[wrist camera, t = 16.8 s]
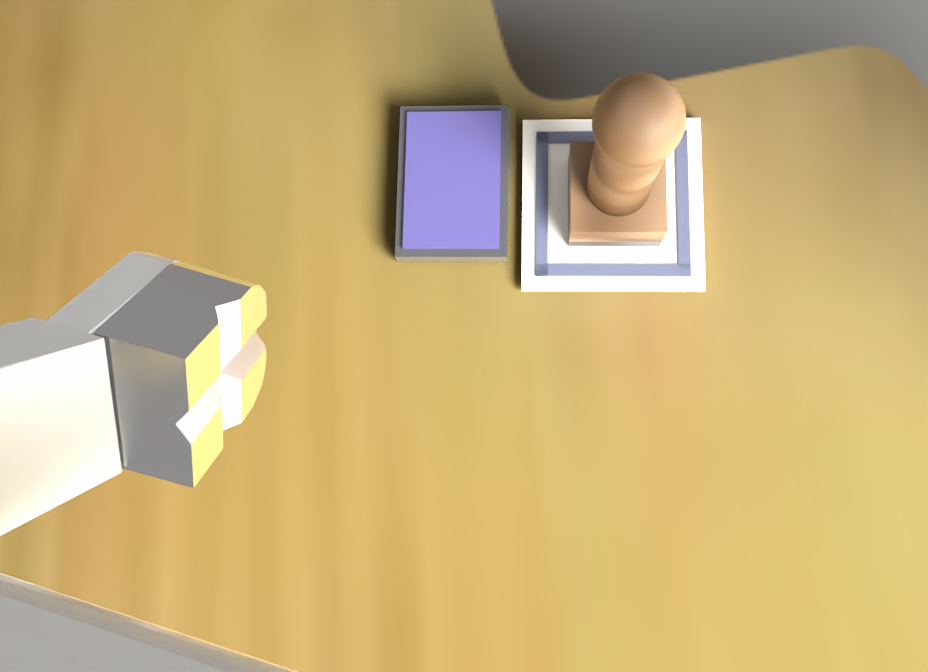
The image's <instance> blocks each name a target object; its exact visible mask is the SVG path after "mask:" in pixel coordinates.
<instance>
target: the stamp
mask: <svg viewBox="0 0 928 672" xmlns="http://www.w3.org/2000/svg"><path fill="white" fill-rule="evenodd" d="M685 126H686V109H685V105H684V102H683V100H682V97H681V96H680V94H679V92H678V91H677V90H676V88H675V87H674V86H673V85H672V84H671V83H669V82H668V81H667V80H665V79H664V78H662V77H659V76H657V75H654V74H649V73H634V74H629V75H626V76H623V77H621V78H619V79H617V80H615V81H614V82H612V83H611V84H610V85H609V86H608V87H607V88H606V89H605V90H604V91H603V92H602V94H601V95H600V96H599V98H598V100H597V102H596V104H595V107H594V110H593V115H592V131H593V136H594V139H595V142H570V149H569V157H568V246H660V244H661V243H662V241H663V239H664V237H665V235H666V234H667V188H666V158H667V157H668V156H669V155H670V154H671V153H672V152H673V151H674V150H675V149H676V147H677V146H678V144H679V143H680V141H681V139H682V137H683V134H684V131H685Z"/></svg>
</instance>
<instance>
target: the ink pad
mask: <svg viewBox="0 0 928 672" xmlns="http://www.w3.org/2000/svg"><path fill="white" fill-rule="evenodd" d="M509 120H510V112H509V105H470V106H400V128H399V155H398V182H397V210H396V237H395V258H396V260H397V262H508V203H509Z"/></svg>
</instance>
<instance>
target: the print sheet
mask: <svg viewBox="0 0 928 672" xmlns="http://www.w3.org/2000/svg"><path fill="white" fill-rule="evenodd" d="M570 142H595V139H594V136H593V131H592V119H561V120H523V167H522V278H521V291H589V292H705V291H706V282H705V249H704V216H703V183H702V151H701V118H686V126H685V131H684V134H683V137H682V139H681V141H680V143H679V144H678V146H677V147H676V149H675V150H674V151H673V152H672V153H671V154H670V155H669V156H668V157H667V158H666V188H667V234H666V235H665V237H664V239H663V241H662V243H661V244H660V246H568V157H569V149H570Z"/></svg>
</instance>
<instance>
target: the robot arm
mask: <svg viewBox="0 0 928 672" xmlns="http://www.w3.org/2000/svg"><path fill="white" fill-rule="evenodd" d="M266 317H267V308H266V292H265V291H264V290H263V288H262V287H261V286H260V285H258V284H255V283H252V282H248V281H245V280H242V279H238V278H235V277H232V276H228V275H225V274H222V273H218V272H215V271H212V270H208V269H205V268H201V267H198V266H195V265H191V264H188V263H185V262H178V261H177V260H174V259H170V258H167V257H163V256H160V255H156V254H152V253H149V252H145V251H136V252H130V253H129V254H128V255H126V256H125V257H124V258H123V259H121V260H120V261H119V262H118V263H117V264H115V265H114V266H113V267H112V268H110V269H109V270H108V271H107V272H105V273H104V274H103V275H102V276H101V277H99V278H98V279H97V280H96V281H94V282H93V283H92V284H91V285H89V286H88V287H87V288H86V289H84V290H83V291H82V292H81V293H80V294H78V295H77V296H76V297H75V298H73V299H72V300H71V301H70V302H68V303H67V304H66V305H65V306H64V307H62V308H61V309H60V310H59V311H57V312H56V313H55V314H54V315H52V316H51V317H50V318H49V319H48V320H46V321H44V320H41V319H37V318H34V317H32V318H28V319H25V320H21V321H17V322H13V323H9V324H5V325H1V326H0V536H1V535H3V534H5V533H7V532H8V531H10V530H12V529H14V528H16V527H18V526H20V525H22V524H24V523H26V522H28V521H30V520H31V519H33V518H35V517H37V516H39V515H41V514H43V513H45V512H47V511H49V510H51V509H53V508H54V507H56V506H58V505H60V504H62V503H64V502H66V501H68V500H70V499H72V498H74V497H76V496H77V495H79V494H81V493H83V492H85V491H87V490H89V489H91V488H93V487H95V486H97V485H99V484H100V483H102V482H104V481H106V480H108V479H110V478H112V477H114V476H116V475H118V474H120V473H122V468H123V469H127V470H131V471H134V472H138V473H141V474H145V475H149V476H152V477H156V478H159V479H163V480H167V481H170V482H174V483H177V484H181V485H185V486H188V487H192V488H194V487H195V486H196V484H197V483H198V482H199V480H200V479H201V478H202V476H203V475H204V474H205V472H206V471H207V470H208V468H209V467H210V465H211V464H212V463H213V461H214V460H215V459H216V457H217V456H218V455H219V453H220V452H221V451H222V449H223V430H225V429H228V428H230V427H233V426H235V425H238V424H240V423H242V422H243V420H244V419H245V418H246V416H247V415H248V413H249V412H250V410H251V409H252V407H253V406H254V403H255V401H256V399H257V396H258V394H259V391H260V389H261V386H262V384H263V379H264V374H265V368H266V349H267V348H266V346H265V345H264V343H263V342H262V340H261V339H260V337H259V336H258V334H257V333H256V330H257V329H258V327H259V326H260V325H261V324H262V322H263V321H264V320H265V319H266ZM0 672H299V671H296V670H293V669H290V668H287V667H284V666H281V665H278V664H275V663H272V662H269V661H265V660H262V659H259V658H256V657H253V656H250V655H247V654H244V653H241V652H238V651H235V650H232V649H229V648H226V647H223V646H220V645H217V644H214V643H211V642H208V641H205V640H202V639H199V638H196V637H193V636H190V635H187V634H184V633H181V632H178V631H175V630H172V629H169V628H166V627H163V626H160V625H157V624H154V623H151V622H148V621H145V620H142V619H139V618H136V617H132V616H129V615H126V614H123V613H120V612H117V611H114V610H111V609H108V608H105V607H102V606H99V605H96V604H93V603H90V602H87V601H84V600H81V599H78V598H75V597H72V596H69V595H66V594H63V593H60V592H57V591H54V590H51V589H48V588H45V587H42V586H39V585H36V584H33V583H30V582H27V581H24V580H21V579H18V578H15V577H12V576H9V575H6V574H3V573H0Z"/></svg>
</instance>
